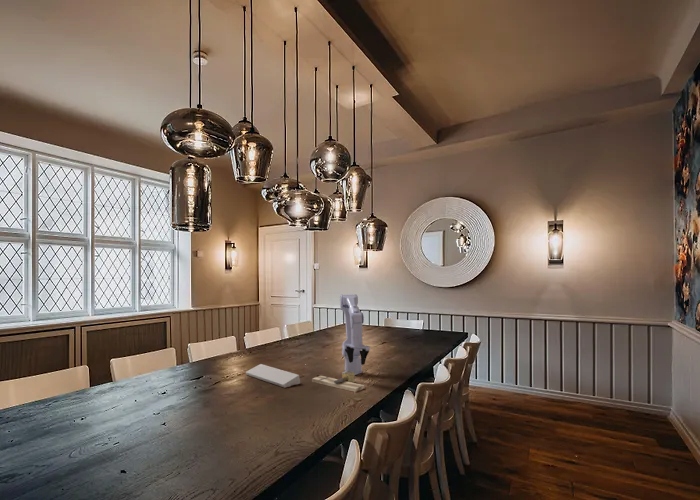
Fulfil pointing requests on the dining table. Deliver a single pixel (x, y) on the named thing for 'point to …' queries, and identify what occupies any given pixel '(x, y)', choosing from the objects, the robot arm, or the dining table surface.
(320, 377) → the maple board
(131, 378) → the dining table surface
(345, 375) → the marking gauge
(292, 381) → the decorative molding
